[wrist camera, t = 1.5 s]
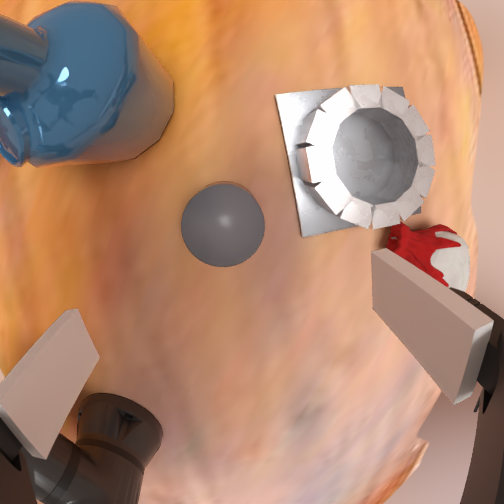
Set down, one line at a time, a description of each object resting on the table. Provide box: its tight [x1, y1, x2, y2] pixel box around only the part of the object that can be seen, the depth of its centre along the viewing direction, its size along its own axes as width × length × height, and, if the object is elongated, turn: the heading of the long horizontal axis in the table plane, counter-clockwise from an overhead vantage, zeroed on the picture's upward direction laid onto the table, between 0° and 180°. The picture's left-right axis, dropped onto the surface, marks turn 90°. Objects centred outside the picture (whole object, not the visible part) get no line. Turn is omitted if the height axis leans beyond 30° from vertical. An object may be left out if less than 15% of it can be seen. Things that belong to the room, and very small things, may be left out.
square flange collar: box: [275, 85, 435, 237], centre depth 29 cm, size 16×16×6 cm
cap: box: [181, 181, 265, 267], centre depth 30 cm, size 8×8×6 cm
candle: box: [386, 221, 470, 292], centre depth 32 cm, size 9×11×15 cm
